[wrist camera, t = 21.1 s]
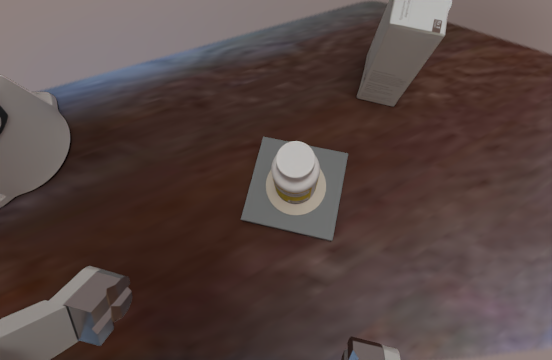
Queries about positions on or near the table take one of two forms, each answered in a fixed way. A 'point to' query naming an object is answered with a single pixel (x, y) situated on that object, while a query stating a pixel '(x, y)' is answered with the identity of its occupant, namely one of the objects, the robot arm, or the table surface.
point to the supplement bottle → (295, 172)
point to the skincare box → (402, 47)
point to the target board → (296, 217)
